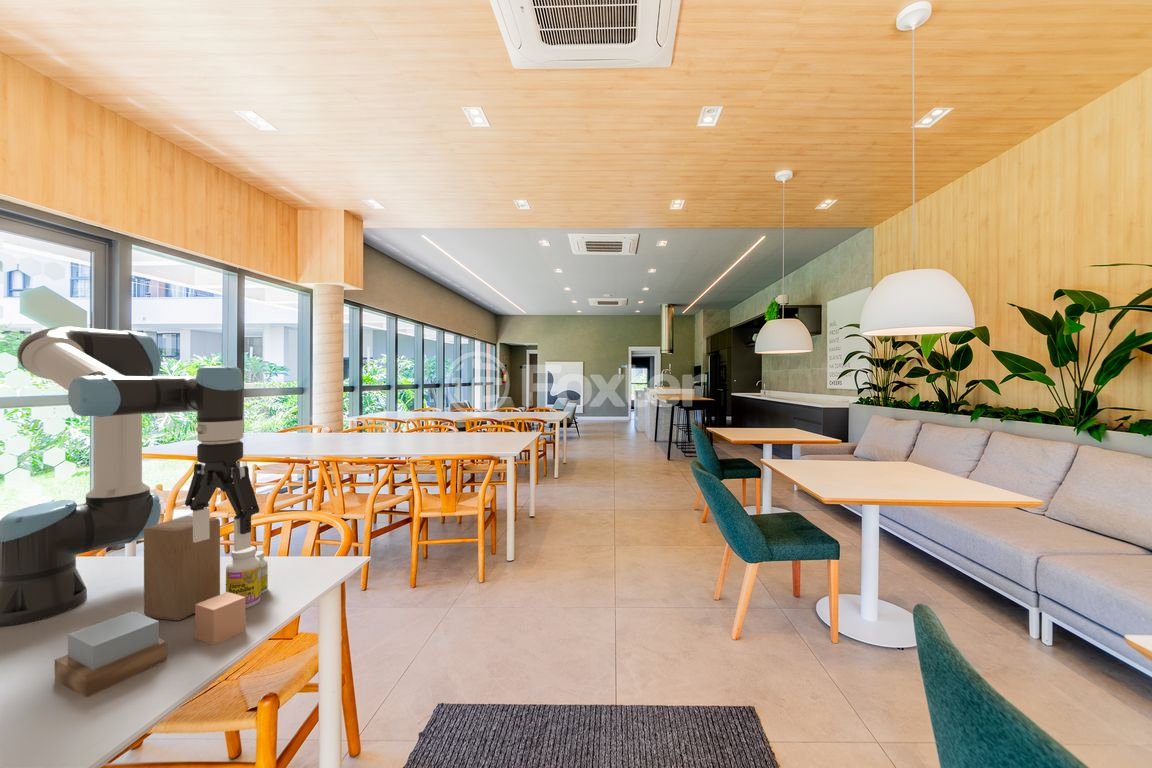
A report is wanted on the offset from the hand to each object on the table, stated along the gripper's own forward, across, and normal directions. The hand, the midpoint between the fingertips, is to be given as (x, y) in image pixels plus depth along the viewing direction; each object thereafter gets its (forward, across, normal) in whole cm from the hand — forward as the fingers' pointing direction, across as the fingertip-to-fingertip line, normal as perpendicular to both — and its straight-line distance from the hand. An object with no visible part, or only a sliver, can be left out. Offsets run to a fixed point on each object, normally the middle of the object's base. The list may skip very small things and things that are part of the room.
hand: (221, 544), depth 96 cm
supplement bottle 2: (+19, -13, +15) cm, 27 cm away
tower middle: (+15, -5, -15) cm, 22 cm away
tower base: (+19, -5, -15) cm, 25 cm away
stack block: (+19, 0, 0) cm, 19 cm away
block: (+18, -19, +3) cm, 27 cm away
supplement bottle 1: (+19, -9, +10) cm, 23 cm away
